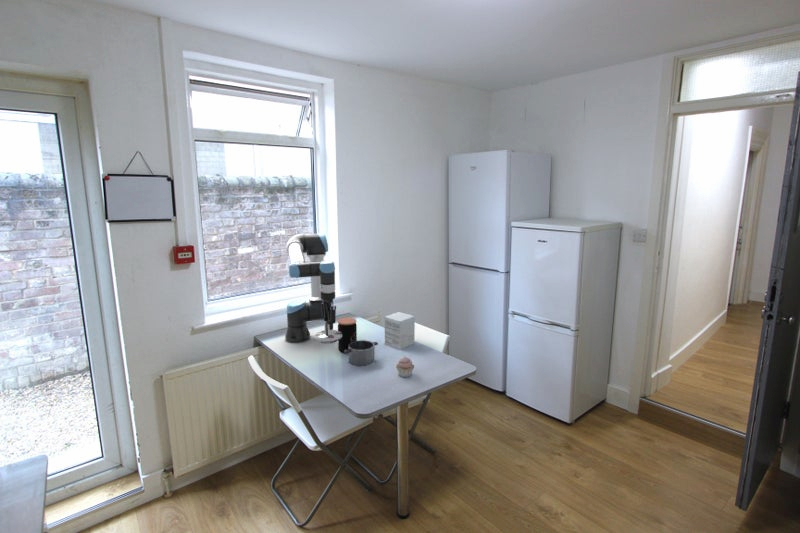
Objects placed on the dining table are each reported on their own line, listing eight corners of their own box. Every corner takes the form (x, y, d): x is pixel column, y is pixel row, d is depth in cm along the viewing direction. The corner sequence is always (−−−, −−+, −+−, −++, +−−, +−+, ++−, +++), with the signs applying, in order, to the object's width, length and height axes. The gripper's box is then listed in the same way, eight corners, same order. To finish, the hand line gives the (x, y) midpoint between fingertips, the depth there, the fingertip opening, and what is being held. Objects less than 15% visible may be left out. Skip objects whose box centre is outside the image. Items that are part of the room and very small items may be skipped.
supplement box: (398, 338, 251) (398, 311, 247) (414, 343, 242) (415, 316, 239) (383, 344, 241) (383, 316, 237) (400, 350, 232) (400, 321, 229)
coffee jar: (353, 354, 225) (353, 324, 222) (335, 353, 228) (334, 322, 224) (359, 347, 236) (358, 318, 232) (342, 345, 238) (341, 316, 234)
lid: (311, 337, 214) (310, 320, 212) (334, 332, 223) (334, 315, 220) (323, 346, 203) (322, 328, 201) (347, 340, 212) (346, 322, 209)
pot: (351, 370, 206) (351, 354, 204) (338, 361, 217) (338, 345, 215) (384, 360, 218) (384, 345, 216) (370, 352, 229) (370, 337, 227)
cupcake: (405, 369, 208) (405, 351, 206) (418, 375, 202) (418, 356, 200) (391, 374, 202) (391, 356, 200) (404, 381, 195) (404, 362, 193)
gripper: (314, 288, 211) (315, 330, 216) (328, 296, 199) (329, 340, 204) (327, 286, 216) (328, 327, 221) (341, 293, 203) (342, 337, 208)
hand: (328, 333), depth 212 cm, fingers closed on lid, 3 cm apart
